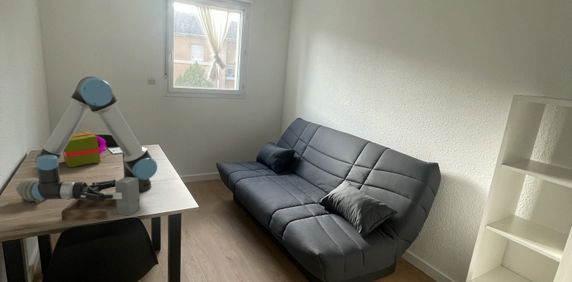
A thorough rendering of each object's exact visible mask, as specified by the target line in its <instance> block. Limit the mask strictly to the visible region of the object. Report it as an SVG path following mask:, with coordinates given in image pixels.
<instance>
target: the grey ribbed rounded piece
mask: <svg viewBox="0 0 572 282" xmlns="http://www.w3.org/2000/svg"><path fill="white" fill-rule="evenodd" d="M38 182H39V178H28V179H24V180H22V181H20V182H19V184H18V185H17V186H16V192H17V194H18V195H19V196H20V197H21V200H22V201H21V202H22V203H25V202H26V201H29V202H30V201H31V202H32V201H33V202H35V204H40V199H36V198H34V196H33V194H32V191H33V186H34V185H35V184H36V183H38ZM42 200H43V201H46V200H45V199H42Z"/></svg>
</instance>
